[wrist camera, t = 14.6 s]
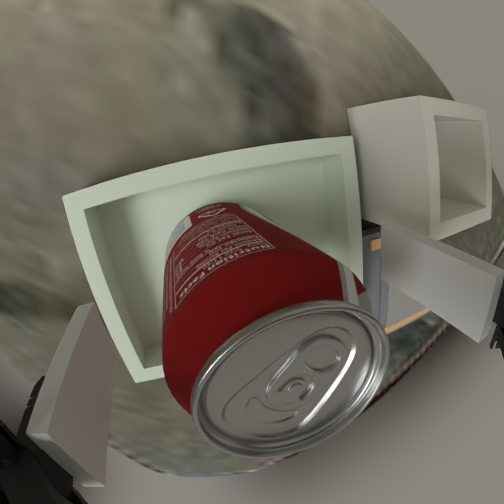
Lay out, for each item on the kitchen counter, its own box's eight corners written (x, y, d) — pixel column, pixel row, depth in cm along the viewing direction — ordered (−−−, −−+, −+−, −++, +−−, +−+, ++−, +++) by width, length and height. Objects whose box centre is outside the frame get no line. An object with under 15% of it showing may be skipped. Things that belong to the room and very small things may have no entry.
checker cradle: (349, 233, 20) (360, 238, 19) (434, 210, 22) (445, 213, 21) (351, 341, 24) (359, 349, 22) (427, 304, 26) (436, 310, 24)
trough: (79, 190, 15) (62, 196, 12) (327, 138, 18) (352, 135, 15) (137, 355, 19) (135, 382, 16) (341, 297, 22) (362, 314, 19)
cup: (346, 108, 17) (419, 95, 11) (420, 111, 19) (486, 108, 13) (359, 217, 20) (428, 243, 14) (427, 201, 22) (490, 218, 15)
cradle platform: (381, 257, 20) (390, 261, 19) (431, 239, 21) (439, 243, 20) (379, 322, 22) (386, 328, 21) (426, 299, 23) (433, 304, 22)
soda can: (144, 271, 17) (120, 438, 6) (208, 177, 16) (291, 208, 5) (232, 322, 19) (302, 474, 8) (294, 240, 19) (435, 339, 7)
